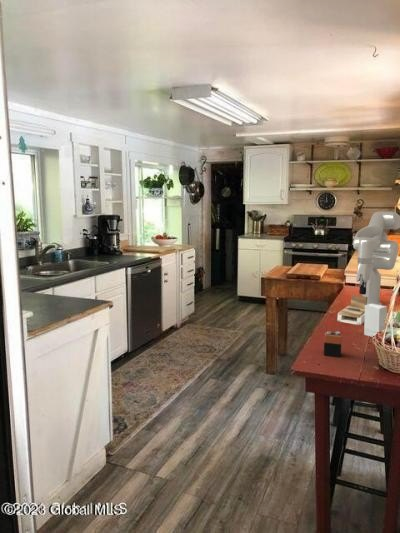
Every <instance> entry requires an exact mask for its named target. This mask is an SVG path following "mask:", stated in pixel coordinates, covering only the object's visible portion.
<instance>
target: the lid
mask: <svg viewBox="0 0 400 533" xmlns="http://www.w3.org/2000/svg"><path fill="white" fill-rule="evenodd" d="M350 297H351V298H350V305H347V306H348V307H347V306H346V307H347V308H346V307H345V308H343V309H344V310H343V309H341V310H340V311H341V312H340V311H339V312H340V315H344V316H350V317H356V318H360V316H362V315H363V314H364V313H365V305H367V297H365V296H363V295H356V294H351V295H350Z"/></svg>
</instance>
